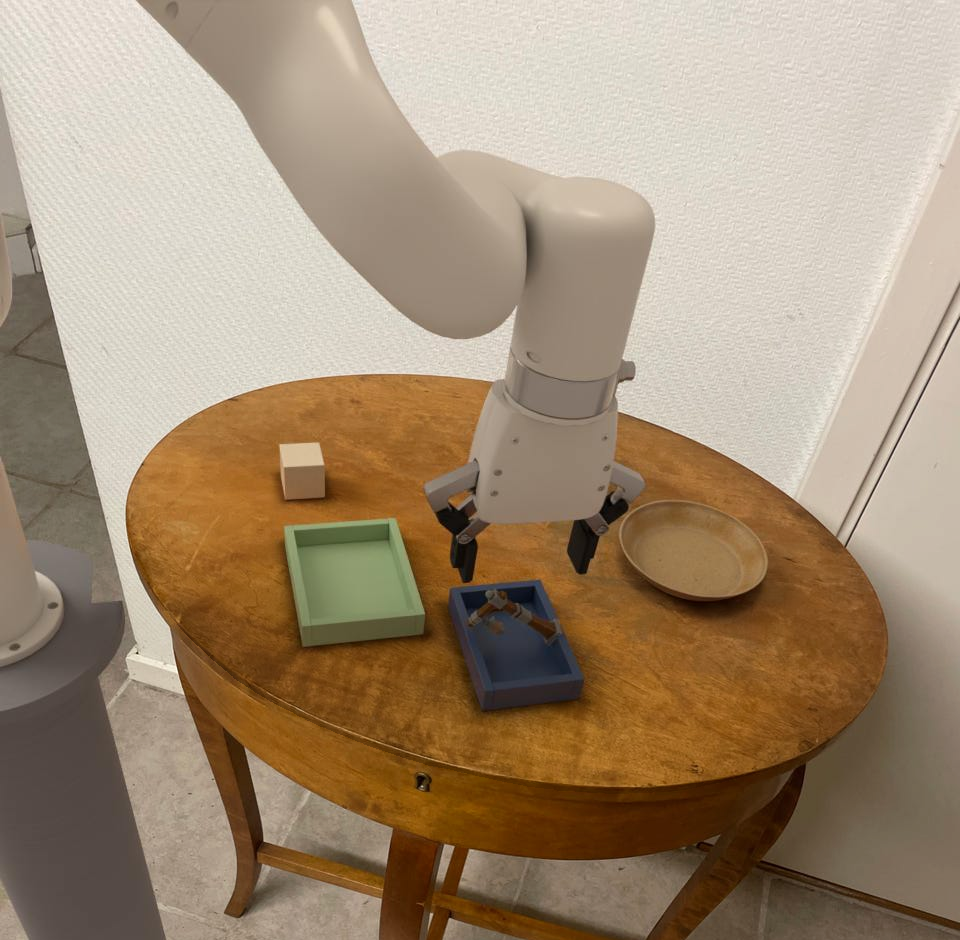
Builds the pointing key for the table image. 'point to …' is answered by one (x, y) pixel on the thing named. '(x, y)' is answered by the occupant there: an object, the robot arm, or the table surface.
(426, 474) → the table surface
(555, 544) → the table surface
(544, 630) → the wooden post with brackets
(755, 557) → the plant saucer
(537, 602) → the slate tray
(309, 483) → the cream block
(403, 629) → the sage tray
